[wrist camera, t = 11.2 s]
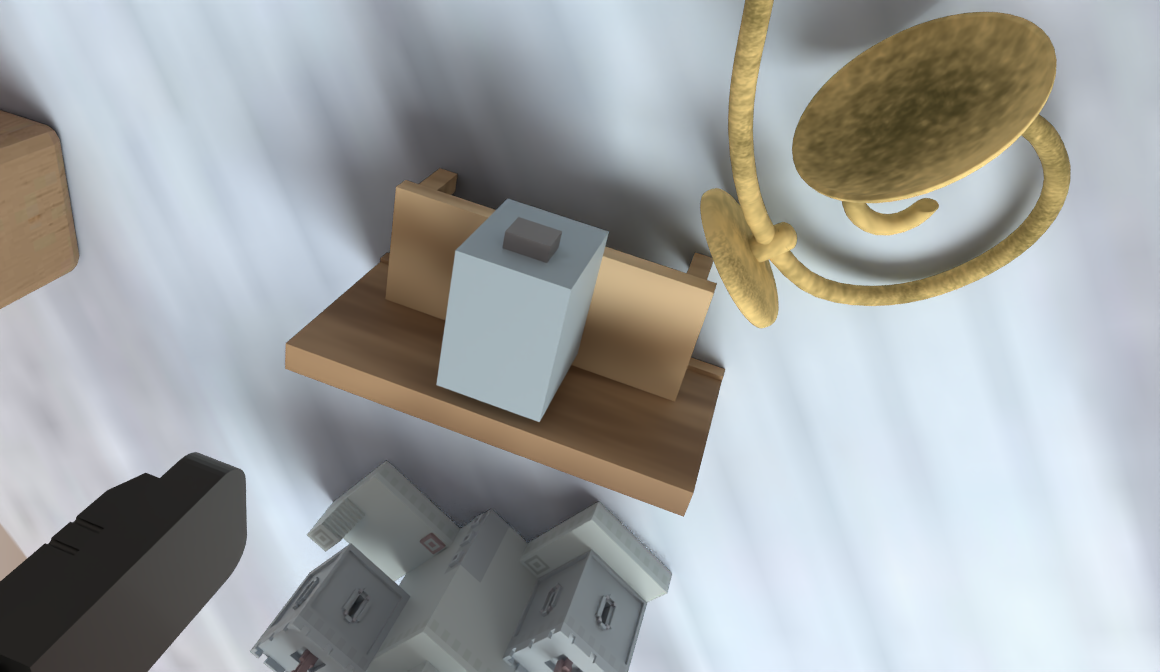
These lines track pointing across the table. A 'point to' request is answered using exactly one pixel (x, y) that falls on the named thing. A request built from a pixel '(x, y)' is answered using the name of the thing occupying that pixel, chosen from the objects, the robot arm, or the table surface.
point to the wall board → (589, 389)
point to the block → (32, 209)
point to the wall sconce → (889, 149)
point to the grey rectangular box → (519, 307)
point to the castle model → (462, 591)
